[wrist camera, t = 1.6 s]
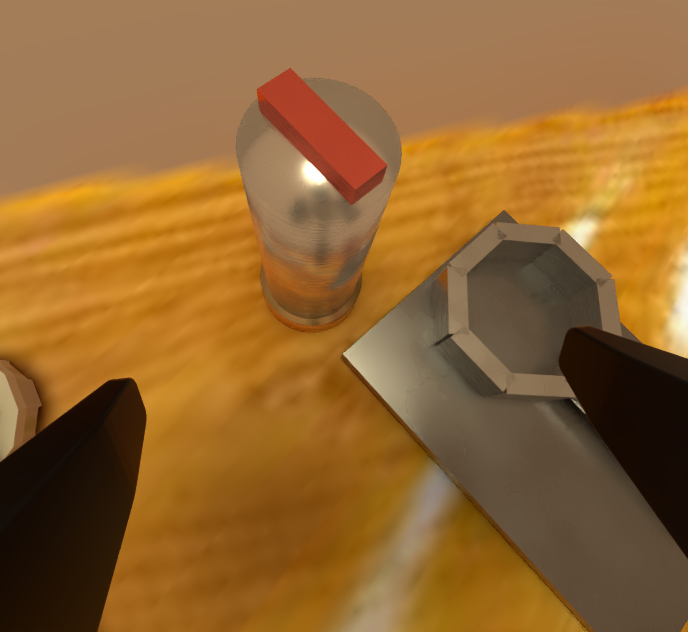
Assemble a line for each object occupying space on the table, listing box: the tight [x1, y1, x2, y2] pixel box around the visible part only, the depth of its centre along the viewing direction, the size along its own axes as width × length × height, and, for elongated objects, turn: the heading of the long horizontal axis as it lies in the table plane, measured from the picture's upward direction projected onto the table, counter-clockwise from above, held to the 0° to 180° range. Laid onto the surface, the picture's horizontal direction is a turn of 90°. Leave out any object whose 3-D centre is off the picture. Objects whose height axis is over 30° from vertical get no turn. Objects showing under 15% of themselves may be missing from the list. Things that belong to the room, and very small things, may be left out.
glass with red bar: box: [236, 68, 402, 332], centre depth 18 cm, size 5×5×13 cm
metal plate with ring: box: [341, 210, 688, 632], centre depth 21 cm, size 21×13×4 cm, turn 42°
